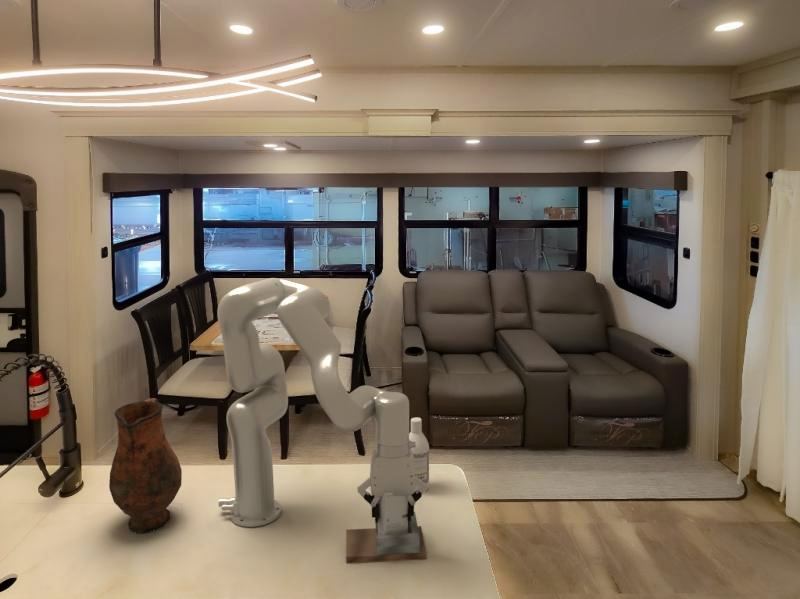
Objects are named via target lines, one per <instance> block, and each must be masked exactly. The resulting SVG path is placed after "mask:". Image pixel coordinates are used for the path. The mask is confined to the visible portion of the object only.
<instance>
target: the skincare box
mask: <svg viewBox="0 0 800 599" xmlns="http://www.w3.org/2000/svg"><path fill="white" fill-rule="evenodd" d="M407 533H408V499H407V497H406V496H394V495H393V493H384V494H383V497H380V499H379V500H378V534H379V535H386V534H407Z"/></svg>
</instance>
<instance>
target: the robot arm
mask: <svg viewBox="0 0 800 599" xmlns="http://www.w3.org/2000/svg"><path fill="white" fill-rule="evenodd" d="M330 311H331V305H330V300H329V299H328V297H327V296H326V295H325V293H324V292H322V291H321V290H320V289H318V288H315V287H312V286H310V285H306V284H301V283H298V282H293V281H290V280H287V279H283V278H278V277H277V278H276V277H270V278H266V279H262V280H259V281H255V282H251V283H248V284H244V285H241V286H238V287H237V288H234V289H231V290H230V291H228V293H226V294H225V295H224V296H222V298H221V300H220V302H218V306H217V314H216V315H217V320H218V321H217V322H218V325H219V329H220V333H221V338H222V344H223V345H222V347H223V355H224V362H225V370H226V376H227V382H228V384H229V386H230V388H231V389H232V390H233V391H235V392H236V393H240V394H241V393H242V394H243V393H247V394H245V395H244V396H242V397H240V398H238V399H236V400H235V401H234V402H233V403H232V404H231V405H230V406H229V408H228V409H227V412H226V420H225V421H226V426H227V429H228V433H229V436H230V442H231V448H232V450H231V451H232V460H233V461H232V462H233V479H234V492H235V493H234V494H235V496H232V497H231V498H219V499H218V507H219V508H221V511H224V512H225V511H230V514H229V516H230V520H231V522H233V523H234V524H235V525H238V526H240V527H245V528H247V527H248V528H252V527H253V528H255V527H262V526H265V525H268V524H270V523H272V522H274V521H276V520H277V518H279V517H280V515H281V513H282V506H281V504H280V502H279V501H277V500H275V487H274V486H275V484H274V467H273V465H274V464H273V451H272V442H271V441H270V439H269V437H268V435H267V432H266V430H267V428H268V427H270V426H271V425H272V424H274V423H275V422H277V421H278V420H280V419H282V417H283V416H285V414H286V412H287V410H288V405H289V395H288V386H287V377H286V367H285V362H284V359H283V356H282V355H281V353H280V352H279V351H278V350H277V348H276V347H275V346H273V345H271V344H267V343H264V344H262V343H261V344H260V336H259V332H258V329H257V327H256V326H255V324H254V323H253V322H254V321H255V320H258V319H259V320H260V319H261V318H264V317H267V316H271V315H273V314H275V313H276V314H277V318H278V320H279V322H280V323H281V325H282V327H283V328H284V329H285V332H287V334H288V335H289V337H290V338H291V339H292V341H293V343H294V344H295V346H296V347H297V348H298V350H299V351H300V353H301V354H302V356H303V357H304V359H305V360H306V361H307V363H308V365H309V366H310V375H311V381H312V386H313V391H314V393H315V396H316V398H317V399H316V400H317V401H318V403H319V404H320V407H321V408H322V409H323V410H324V412H325V413H326V415H327V416H328V418H329V419H330V420H331V421H332V423H333V424H334V425H335V426H336V427H337V428H339V429H340V430H342V431H344V432H346V433H347V432H348V433H351V432H357V431H358V430H360V429H362V428H363V427H364V426H365V425H366V424H367V423H368V422H369V421H372V420H375V449H374V450H372V453H371V458H370V471H369V475H370V476H369V477H368V478H367V479H366V480H365V481H363V482H362V483H361V484H360V485H359V486H357V487H356V488H357V489H356V490H357V493H358V494H359V495H360V496H361V497H362V498H363V500H364V501H365V502H367V504H369V505H370V507H371V518H374V523H375V524H376V523H377V522H378V500H379V499H380V497H383V494H384V493H393V495H394V496H406V497H407V499H408V521H411V516H414V512H415V505H416V503H417V502H418V501H419V500H420V499H421V498H422V496H423V495H424V494H425V493H426V492H427V491H428V489H429V487H428V486H427V484H426V483H424V482H423V481H422V480H420V479H419V478H418V477H416V476H415V470H414V461H413V454H412V450H411V448H412V447H416V443H415V441H414V442H412V441H410V440H409V433H410V400H409V398H408V396H407V394H406V395H405V394H404V393H402V392H398V391H387V390H383V389H381V388H377V387H376V386H375V387H374V386H371V385H367V384H366V385H361V386H358V387H357V388H355V389H353V391H351V392H348V390H347V389H346V387H345V386H344V385H343V382H342V380H341V377H340V374H339V368H338V367H339V366H338V364H339V359H340V354H341V348H342V343H341V342H340V340H339V338H338V337H337V336H336V334H335V333H334V332H333V330H332V329H331V327H330V326H329V325H328V323H327V321H326V320H325V319H326V318H327V317H328V316H329V315H330V314H329V313H330ZM415 484H416V485H417V486H418V487H420V488H419V489H418V490H417V491H416V492H415ZM369 488H370V492H368V491H367V490H368V489H369ZM414 492H415V493H414Z"/></svg>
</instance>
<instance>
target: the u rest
mask: <svg viewBox="0 0 800 599" xmlns="http://www.w3.org/2000/svg"><path fill="white" fill-rule="evenodd" d="M417 520H418V519H417V516H416V511H414V516H411V521H408V533H407V534H386V535H379V534H378V522H377V523H375V527H374V528H373V527H372V528H351V529H345V532H346V534H345V536H346V537H345V563H346V564H354V563H355V564H356V563H376V562H394V561H411V560H412V561H414V560H415V561H416V560H427V549H426V545H425V539H424V534H423V529H422V526H421V525H418V521H417Z"/></svg>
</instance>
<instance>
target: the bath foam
mask: <svg viewBox="0 0 800 599" xmlns="http://www.w3.org/2000/svg"><path fill="white" fill-rule="evenodd" d="M422 423H423V422H422V418H421V417H418V416H417V417H416V416H415V417H411V419H410V431H409V440H410V441H412V442H414V441H415V443H416V447H412V448H411V450H412V454H413V461H414V470H415V476H416V477H418V478H419V479H420V480H422V481H423V482H424V483H426V484H427V486H428V488H429V486H430V444H429V442H428V441H429V440H428V439H427V438H426V436H425V434H424V432H423V430H422V425H423V424H422ZM419 488H420V487H418V486H417V485H416V484H415V492H416V491H417V490H418V489H419ZM415 492H414V493H415Z"/></svg>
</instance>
